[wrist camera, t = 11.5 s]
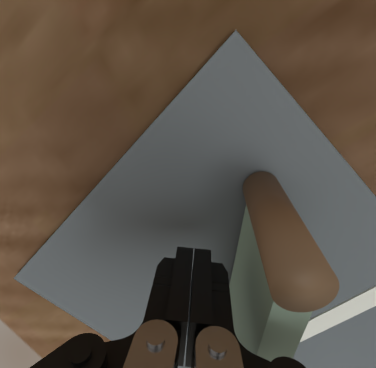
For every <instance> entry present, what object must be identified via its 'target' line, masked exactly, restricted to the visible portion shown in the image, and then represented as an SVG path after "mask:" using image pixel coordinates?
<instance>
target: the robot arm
mask: <svg viewBox="0 0 376 368" xmlns="http://www.w3.org/2000/svg"><path fill="white" fill-rule="evenodd" d="M192 262H193V269H192ZM191 275H192V278H191ZM190 289H191V290H190ZM189 302H190V304H189ZM188 316H189V318H188ZM187 327H188V332H187ZM186 336H187V346H186ZM185 346H186V360H185V367H191V368H306V367H305V366H304V365H303V364H302V363H300V362H299V361H297V360H295V359H293V358H290V357H285V356H281V357H277V358H275V359H273V360H272V361H271V362H270V361H268V360H266V359H264V358H262V357H260V356H257V355H255V354H253V353H251V352H250V351H248V350H247V349H246V348H245V347H244V346H243V345H242V344H241V343H240V342H239V340H238V339H237V337H236V334H235V332H234V326H233V316H232V307H231V297H230V288H229V278H228V272H227V270H226V269H225V267H224V265H223V264H222V263H215V262H211V250H207V249H197V248H195V250H194V259H193V248H187V247H177V252H176V258H167V257H164V258H163V259H162V260H161V262H160V263H159V264H158V265H157V268H156V272H155V277H154V280H153V285H152V288H151V292H150V296H149V300H148V304H147V308H146V312H145V316H144V319H143V322H142V324H141V325H140V327H139V328H138V329H137V330H136V331H135V332H134V333H133V334H131V335H129V336H127V337H125V338H122V339H118V340H113V341H109V342H104V341H103V339H102V338H101V337H100V336H98V335H96V334H92V333H84V334H80V335H77V336H75V337H73V338H71V339H70V340H68V341H67V342H65V343H64V344H63V345H61V346H60V347H58V348H57V349H56V350H54V351H53V352H51V353H50V354H48V355H47V356H46V357H44V358H43V359H41V360H40V361H38V362H37V363H36V364H34V365H33V366H31V367H30V368H178V366H183V364H184V355H185Z"/></svg>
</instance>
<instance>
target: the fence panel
mask: <svg viewBox="0 0 376 368" xmlns="http://www.w3.org/2000/svg"><path fill="white" fill-rule="evenodd" d="M243 194H244V198H245V201H246V207H245V212H244V217H243V222H242V227H241V232H240V236H239V241H238V246H237V251H236V256H235V261H234V266H233V270H232V275H231V280H230V285H229V288H230V297H231V307H232V316H233V326H234V332H235V334H236V337H237V339H238V340H239V342H240V343H241V344H242V345H243V346H244V347H245V348H246V349H247V350H248V351H250V352H251V353H253V354H255V355H257V356H260V357H262V358H264V359H266V360H268V361H270V362H271V361H272V360H273V359H275V358H277V357H281V356H285V357H290V358H293V357H294V354H295V352H296V350H297V347H298V345H299V343H300V340H301V338H302V336H303V333H304V331H305V329H306V326H307V324H308V321H309V319H310V317H311V314H312V312H313V311H315V310H318V309H321V308H323V307H325V306H326V305H328V304H329V303H330V302H332V301H333V300H334V298H335V297H336V296H337V294H338V291H339V280H338V278H337V276H336V275H335V273H334V271H333V270H332V268H331V266H330V265H329V263H328V262H327V260H326V258H325V257H324V255H323V253H322V252H321V250H320V248H319V247H318V245H317V244H316V242H315V240H314V239H313V237H312V235H311V234H310V232H309V230H308V229H307V227H306V226H305V224H304V222H303V221H302V219H301V217H300V216H299V214H298V212H297V211H296V209H295V208H294V206H293V204H292V203H291V201H290V199H289V198H288V196H287V194H286V193H285V191H284V190H283V188H282V186H281V185H280V183H279V181H278V180H277V178H276V177H275V176H274V175H273V174H271V173H269V172H256V173H253V174H252V175H250V176H249V177H248V178H247V179H246V180H245V182H244V184H243Z"/></svg>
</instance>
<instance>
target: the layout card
mask: <svg viewBox="0 0 376 368" xmlns="http://www.w3.org/2000/svg"><path fill="white" fill-rule="evenodd" d="M256 172H269V173H271V174H273V175H274V176H275V177H276V178H277V180H278V181H279V183H280V185H281V186H282V188H283V190H284V191H285V193H286V194H287V196H288V198H289V199H290V201H291V203H292V204H293V206H294V208H295V209H296V211H297V212H298V214H299V216H300V217H301V219H302V221H303V222H304V224H305V226H306V227H307V229H308V230H309V232H310V234H311V235H312V237H313V239H314V240H315V242H316V244H317V245H318V247H319V248H320V250H321V252H322V253H323V255H324V257H325V258H326V260H327V262H328V263H329V265H330V266H331V268H332V270H333V271H334V273H335V275H336V276H337V278H338V280H339V291H338V294H337V296H336V297H335V298H334V300H333V301H332V302H330V303H329V304H328V305H326V306H325V307H323V308H321V309H318V310H315V311H313V312H312V314H311V317H310V319H309V321H308V324H307V326H306V329H305V331H304V333H303V336H302V338H301V340H300V343H299V345H298V347H297V350H296V352H295V354H294V357H293V359H295V360H297V361H299V362H300V363H302V364H303V365H304V366H305V367H306V368H376V196H375V195H374V194H373V193H372V192H371V190H370V189H369V188H368V187H367V186H366V184H365V183H364V182H363V181H362V180H361V178H360V177H359V176H358V175H357V174H356V172H355V171H354V170H353V169H352V168H351V167H350V165H349V164H348V163H347V162H346V161H345V159H344V158H343V157H342V156H341V155H340V153H339V152H338V151H337V150H336V149H335V147H334V146H333V145H332V144H331V143H330V141H329V140H328V139H327V138H326V137H325V136H324V134H323V133H322V132H321V131H320V130H319V128H318V127H317V126H316V125H315V124H314V122H313V121H312V120H311V119H310V118H309V116H308V115H307V114H306V113H305V112H304V110H303V109H302V108H301V107H300V106H299V105H298V103H297V102H296V101H295V100H294V99H293V97H292V96H291V95H290V94H289V93H288V91H287V90H286V89H285V88H284V87H283V85H282V84H281V83H280V82H279V81H278V79H277V78H276V77H275V76H274V75H273V74H272V72H271V71H270V70H269V69H268V68H267V66H266V65H265V64H264V63H263V62H262V60H261V59H260V58H259V57H258V56H257V54H256V53H255V52H254V51H253V50H252V49H251V47H250V46H249V45H248V44H247V43H246V41H245V40H244V39H243V38H242V37H241V35H240V34H239V33H238V32H237V31H236V30H235V31H234V33H233V34H232V35H231V36H230V37H229V38H228V39H227V40H226V42H225V43H224V44H223V45H222V46H221V47H220V48H219V49H218V50H217V52H216V53H215V54H214V55H213V56H212V57H211V58H210V59H209V61H208V62H207V63H206V64H205V65H204V66H203V67H202V68H201V69H200V71H199V72H198V73H197V74H196V75H195V76H194V77H193V78H192V80H191V81H190V82H189V83H188V84H187V85H186V86H185V87H184V88H183V90H182V91H181V92H180V93H179V94H178V95H177V96H176V97H175V98H174V100H173V101H172V102H171V103H170V104H169V105H168V106H167V107H166V109H165V110H164V111H163V112H162V113H161V114H160V115H159V116H158V117H157V119H156V120H155V121H154V122H153V123H152V124H151V125H150V126H149V128H148V129H147V130H146V131H145V132H144V133H143V134H142V135H141V136H140V138H139V139H138V140H137V141H136V142H135V143H134V144H133V145H132V147H131V148H130V149H129V150H128V151H127V152H126V153H125V154H124V155H123V157H122V158H121V159H120V160H119V161H118V162H117V163H116V164H115V166H114V167H113V168H112V169H111V170H110V171H109V172H108V173H107V174H106V176H105V177H104V178H103V179H102V180H101V181H100V182H99V183H98V185H97V186H96V187H95V188H94V189H93V190H92V191H91V192H90V193H89V195H88V196H87V197H86V198H85V199H84V200H83V201H82V202H81V204H80V205H79V206H78V207H77V208H76V209H75V210H74V211H73V212H72V214H71V215H70V216H69V217H68V218H67V219H66V220H65V221H64V222H63V224H62V225H61V226H60V227H59V228H58V229H57V230H56V231H55V233H54V234H53V235H52V236H51V237H50V238H49V239H48V240H47V241H46V243H45V244H44V245H43V246H42V247H41V248H40V249H39V250H38V252H37V253H36V254H35V255H34V256H33V257H32V258H31V259H30V260H29V262H28V263H27V264H26V265H25V266H24V267H23V268H22V269H21V271H20V272H19V273H18V274H17V275H16V276H15V277H14V279H15V280H17V281H18V282H20V283H21V284H23V285H25V286H26V287H28V288H29V289H31V290H32V291H34V292H36V293H37V294H39V295H40V296H42V297H44V298H45V299H47V300H48V301H50V302H51V303H53V304H55V305H56V306H58V307H59V308H61V309H62V310H64V311H66V312H67V313H69V314H70V315H72V316H74V317H75V318H77V319H78V320H80V321H81V322H83V323H85V324H86V325H88V326H89V327H91V328H92V329H94V330H96V331H97V332H99V333H100V334H102V335H103V336H105V337H107V338H108V339H110V340H111V341H113V340H118V339H122V338H125V337H127V336H129V335H131V334H133V333H134V332H135V331H136V330H137V329H138V328H139V327H140V325H141V324H142V322H143V319H144V316H145V312H146V308H147V304H148V300H149V296H150V292H151V288H152V285H153V280H154V277H155V272H156V268H157V265H158V264H159V263H160V262H161V260H162V259H163V258H164V257H167V258H176V252H177V247H187V248H193V259H194V250H195V248H197V249H207V250H211V262H215V263H222V264H223V265H224V267H225V269H226V270H227V272H228V278H229V285H230V280H231V275H232V270H233V266H234V261H235V256H236V251H237V246H238V241H239V236H240V232H241V227H242V222H243V217H244V212H245V207H246V201H245V198H244V194H243V184H244V182H245V180H246V179H247V178H248V177H249V176H250V175H252V174H253V173H256ZM192 269H193V262H192ZM191 278H192V275H191ZM190 290H191V289H190ZM189 304H190V302H189ZM188 318H189V316H188ZM187 332H188V327H187ZM186 346H187V336H186ZM186 346H185V355H184V364H183V366H178V368H191V367H185V360H186Z"/></svg>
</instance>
